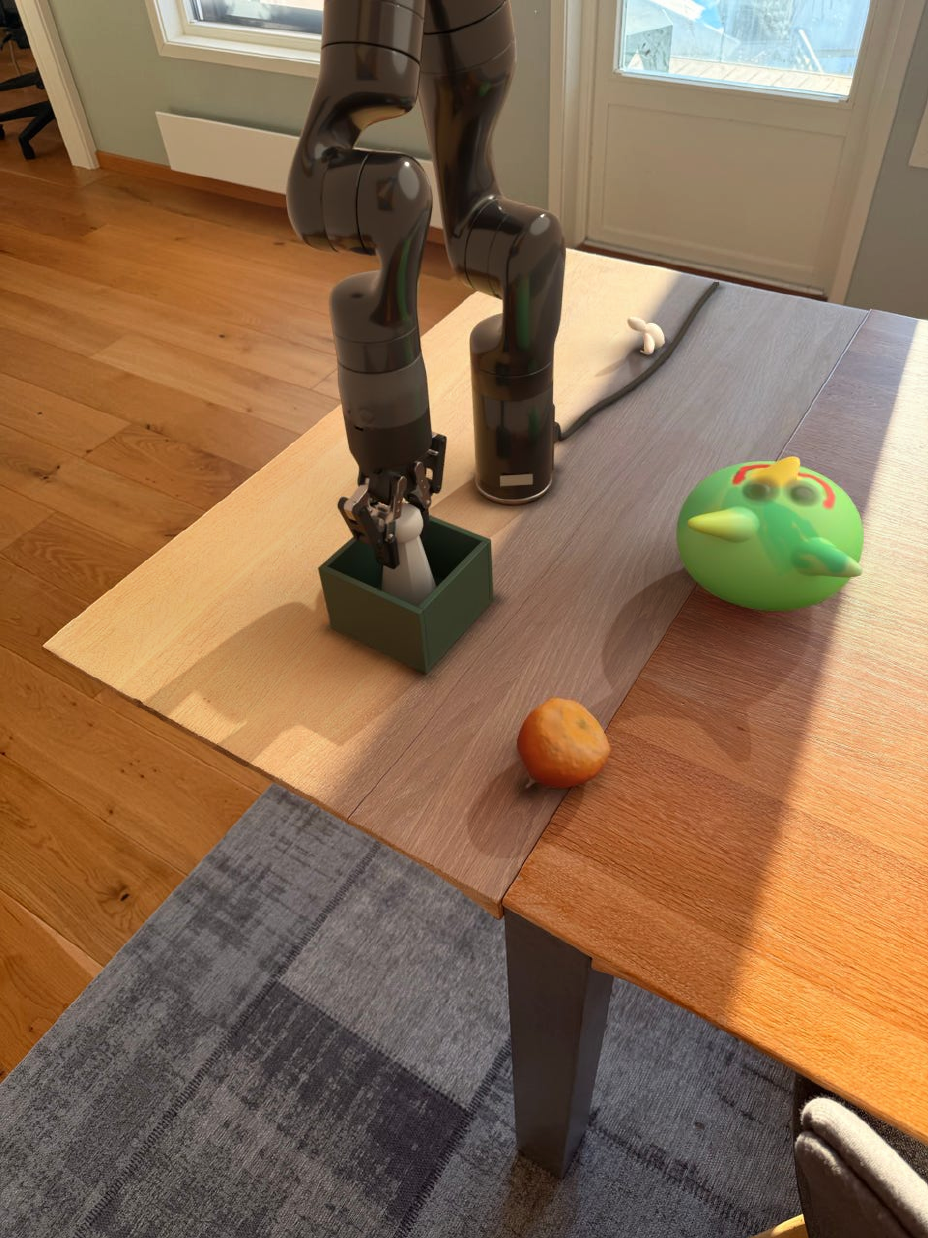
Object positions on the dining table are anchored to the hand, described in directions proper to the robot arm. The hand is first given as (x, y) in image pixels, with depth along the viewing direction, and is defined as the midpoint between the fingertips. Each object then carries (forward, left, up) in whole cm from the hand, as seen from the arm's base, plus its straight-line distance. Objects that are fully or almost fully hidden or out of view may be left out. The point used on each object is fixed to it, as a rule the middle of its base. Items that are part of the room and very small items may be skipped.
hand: (404, 549), depth 90 cm
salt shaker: (0, 0, -8) cm, 8 cm away
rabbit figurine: (-61, -3, -9) cm, 62 cm away
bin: (0, 0, -9) cm, 9 cm away
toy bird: (-22, +29, -9) cm, 38 cm away
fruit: (+9, +23, -9) cm, 26 cm away
